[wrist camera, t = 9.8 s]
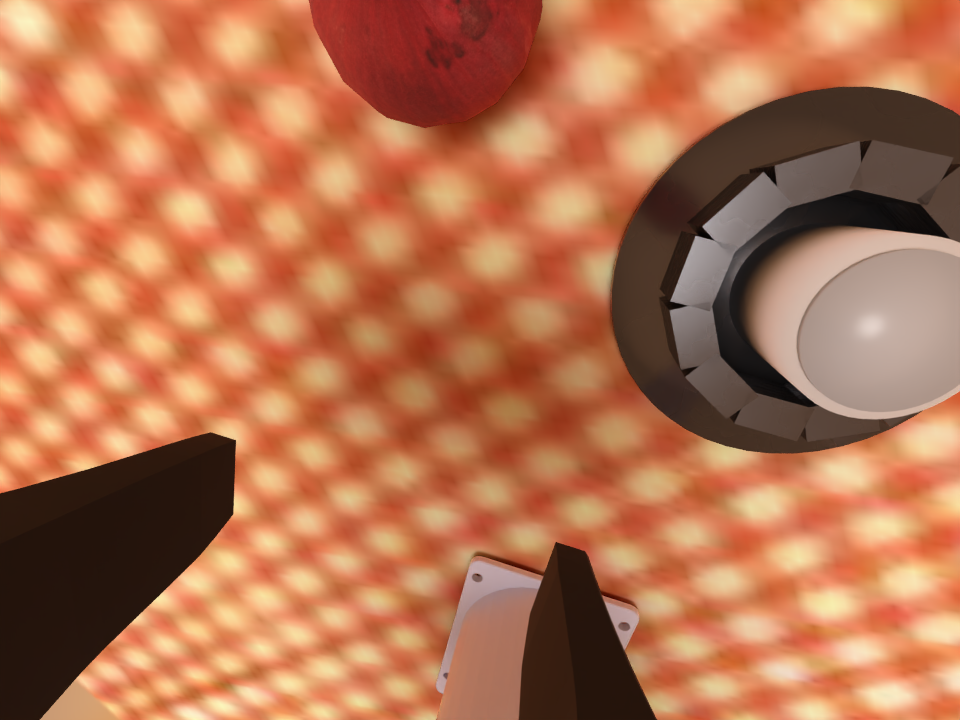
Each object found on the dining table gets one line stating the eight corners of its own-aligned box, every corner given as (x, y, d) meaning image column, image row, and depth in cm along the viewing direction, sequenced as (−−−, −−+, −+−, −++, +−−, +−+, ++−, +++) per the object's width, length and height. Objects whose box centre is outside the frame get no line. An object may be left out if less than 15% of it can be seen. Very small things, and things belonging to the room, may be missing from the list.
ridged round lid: (881, 484, 18) (930, 529, 15) (570, 394, 19) (569, 424, 16) (1106, 140, 13) (1224, 129, 11) (683, 52, 14) (704, 24, 12)
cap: (836, 378, 16) (933, 447, 12) (705, 336, 17) (752, 388, 12) (919, 247, 14) (1066, 271, 10) (770, 204, 15) (851, 209, 10)
